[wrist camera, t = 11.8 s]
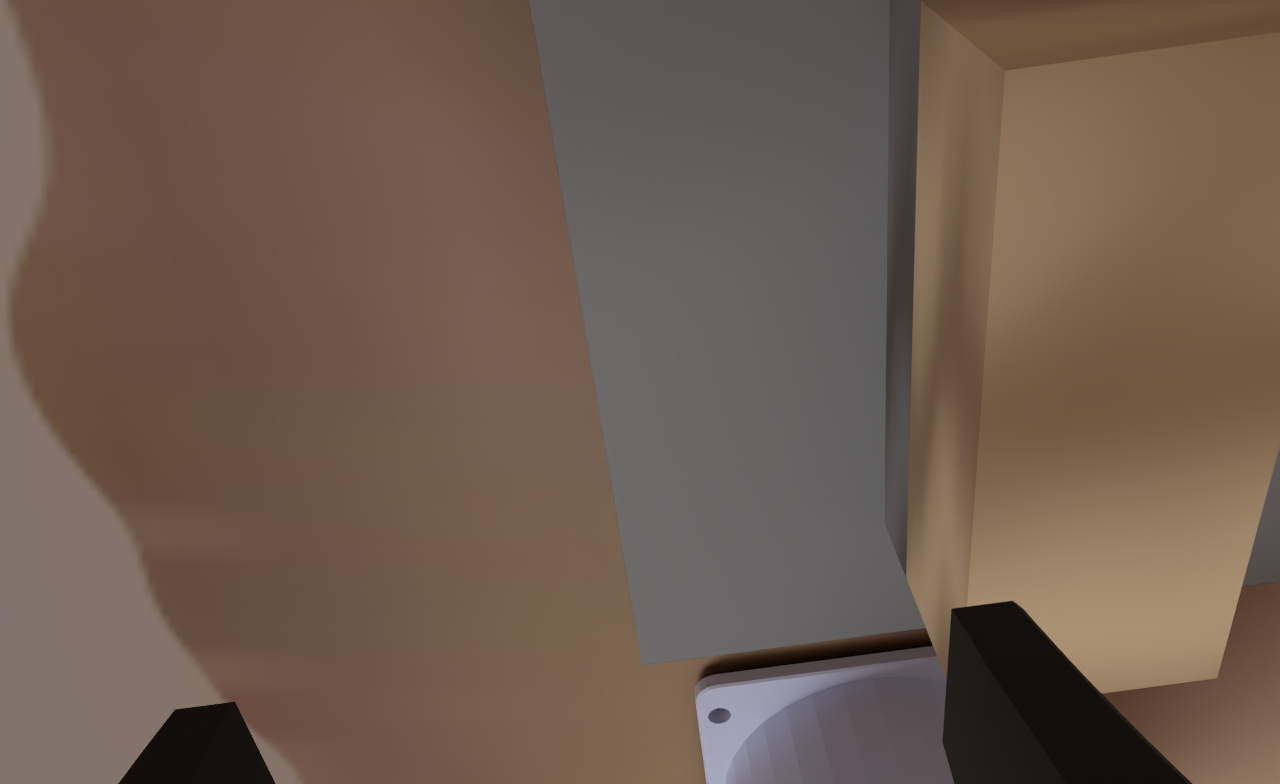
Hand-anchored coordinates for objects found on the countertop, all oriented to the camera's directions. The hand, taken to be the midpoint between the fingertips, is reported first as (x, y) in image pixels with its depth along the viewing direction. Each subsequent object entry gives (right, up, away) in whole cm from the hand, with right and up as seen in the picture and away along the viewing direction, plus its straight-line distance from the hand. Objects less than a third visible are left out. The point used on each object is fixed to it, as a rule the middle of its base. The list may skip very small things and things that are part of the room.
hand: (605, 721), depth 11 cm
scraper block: (+6, +5, +6) cm, 11 cm away
